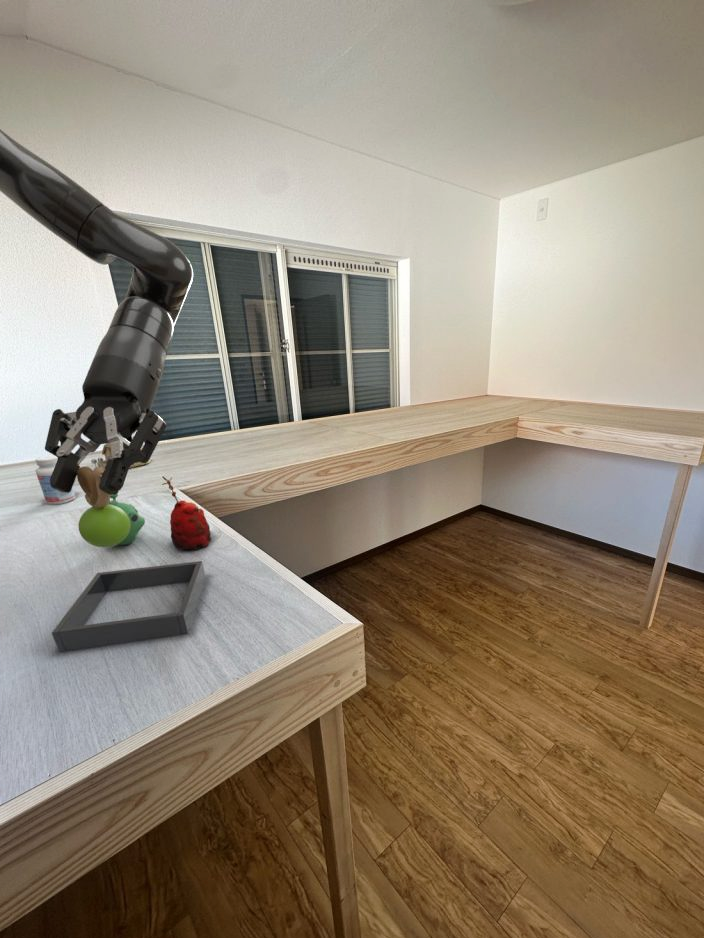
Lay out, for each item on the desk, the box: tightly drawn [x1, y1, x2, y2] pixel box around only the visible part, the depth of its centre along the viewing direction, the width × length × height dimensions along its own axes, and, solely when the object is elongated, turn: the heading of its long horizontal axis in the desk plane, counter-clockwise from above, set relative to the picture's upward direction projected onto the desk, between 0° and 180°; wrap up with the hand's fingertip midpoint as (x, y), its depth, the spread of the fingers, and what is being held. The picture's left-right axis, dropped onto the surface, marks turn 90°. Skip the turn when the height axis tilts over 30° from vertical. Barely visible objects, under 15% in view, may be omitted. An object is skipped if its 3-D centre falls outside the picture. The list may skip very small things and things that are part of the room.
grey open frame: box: [51, 560, 207, 654], centre depth 61 cm, size 16×15×4 cm
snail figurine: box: [76, 457, 131, 548], centre depth 51 cm, size 5×6×12 cm
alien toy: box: [109, 493, 146, 546], centre depth 81 cm, size 7×8×10 cm
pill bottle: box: [34, 454, 77, 505], centre depth 102 cm, size 6×6×11 cm
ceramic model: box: [96, 443, 152, 469], centre depth 130 cm, size 14×11×10 cm
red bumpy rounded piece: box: [161, 475, 212, 551], centre depth 79 cm, size 8×7×15 cm
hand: (83, 490), depth 48 cm, fingers closed on snail figurine, 5 cm apart
